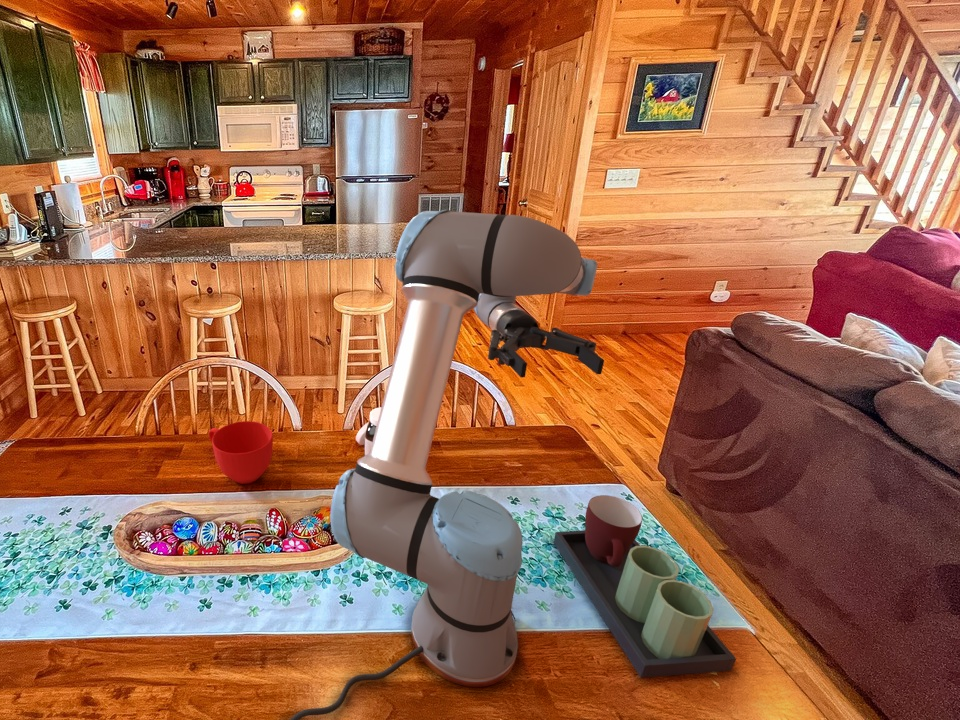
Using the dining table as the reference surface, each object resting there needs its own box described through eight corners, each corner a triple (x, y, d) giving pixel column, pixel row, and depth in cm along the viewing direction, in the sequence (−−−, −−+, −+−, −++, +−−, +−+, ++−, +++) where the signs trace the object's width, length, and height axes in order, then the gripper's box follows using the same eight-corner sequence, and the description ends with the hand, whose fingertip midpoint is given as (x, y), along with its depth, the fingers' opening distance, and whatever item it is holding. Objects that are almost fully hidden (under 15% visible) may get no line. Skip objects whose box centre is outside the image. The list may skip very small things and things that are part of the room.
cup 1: (630, 627, 77) (646, 580, 73) (606, 593, 83) (619, 546, 79) (670, 625, 77) (689, 577, 73) (644, 590, 83) (659, 544, 79)
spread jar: (392, 474, 113) (394, 429, 108) (345, 461, 117) (345, 418, 112) (407, 445, 122) (410, 403, 118) (364, 435, 127) (364, 394, 122)
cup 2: (659, 670, 71) (678, 620, 67) (631, 629, 77) (647, 581, 73) (703, 666, 71) (725, 617, 67) (671, 626, 77) (690, 578, 73)
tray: (640, 678, 70) (645, 665, 69) (553, 542, 93) (555, 531, 92) (730, 671, 71) (736, 658, 70) (621, 538, 94) (625, 527, 93)
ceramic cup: (233, 446, 124) (229, 410, 120) (286, 469, 115) (284, 432, 111) (192, 473, 114) (186, 435, 110) (247, 501, 105) (243, 461, 101)
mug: (643, 587, 83) (658, 541, 79) (590, 582, 84) (603, 536, 80) (618, 540, 93) (630, 496, 88) (571, 536, 94) (581, 493, 89)
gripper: (567, 340, 109) (627, 385, 90) (453, 344, 108) (489, 390, 89) (574, 307, 106) (637, 346, 87) (456, 311, 105) (494, 351, 86)
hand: (562, 368), depth 88 cm, fingers open, 13 cm apart
